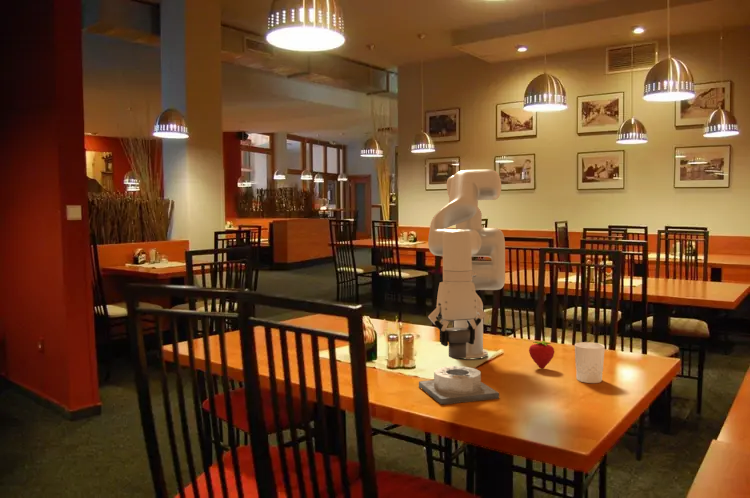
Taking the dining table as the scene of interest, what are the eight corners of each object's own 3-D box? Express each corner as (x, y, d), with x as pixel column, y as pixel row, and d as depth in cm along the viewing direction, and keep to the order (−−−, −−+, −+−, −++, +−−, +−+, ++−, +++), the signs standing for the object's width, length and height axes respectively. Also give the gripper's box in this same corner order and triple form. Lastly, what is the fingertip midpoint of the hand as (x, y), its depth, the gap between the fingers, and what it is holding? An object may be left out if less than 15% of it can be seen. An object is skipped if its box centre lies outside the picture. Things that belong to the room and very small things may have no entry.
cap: (440, 354, 160) (440, 328, 159) (463, 352, 162) (463, 326, 161) (450, 360, 153) (450, 333, 153) (474, 358, 155) (474, 331, 155)
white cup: (569, 380, 168) (570, 345, 168) (581, 374, 174) (582, 340, 173) (597, 385, 163) (597, 349, 162) (608, 379, 169) (609, 344, 168)
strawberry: (529, 365, 185) (529, 333, 185) (554, 366, 183) (555, 334, 182) (527, 369, 180) (528, 337, 179) (553, 371, 177) (554, 338, 176)
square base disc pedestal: (418, 386, 164) (418, 367, 163) (472, 381, 168) (471, 362, 168) (441, 404, 148) (441, 383, 148) (499, 398, 153) (499, 377, 153)
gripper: (480, 274, 162) (480, 339, 163) (421, 276, 157) (421, 343, 158) (493, 277, 155) (493, 344, 156) (431, 279, 150) (431, 349, 151)
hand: (457, 343), depth 157 cm, fingers closed on cap, 6 cm apart
